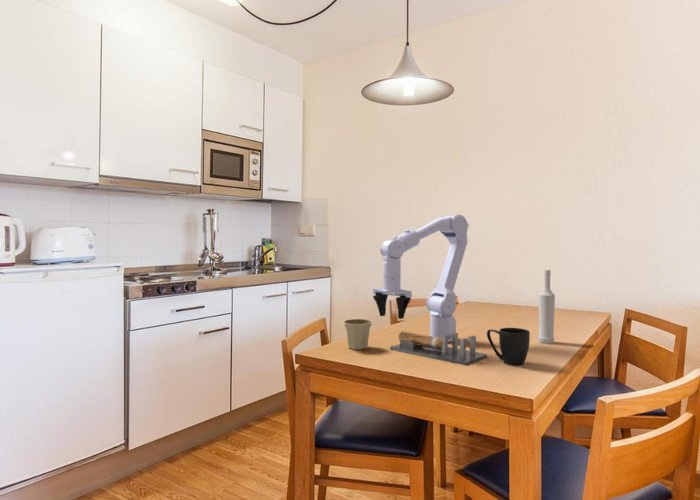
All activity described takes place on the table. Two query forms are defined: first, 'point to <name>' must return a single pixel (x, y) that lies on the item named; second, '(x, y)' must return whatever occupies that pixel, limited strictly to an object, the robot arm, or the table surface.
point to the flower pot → (357, 333)
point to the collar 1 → (445, 342)
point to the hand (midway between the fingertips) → (391, 317)
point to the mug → (512, 345)
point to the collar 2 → (463, 346)
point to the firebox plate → (437, 353)
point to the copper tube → (422, 340)
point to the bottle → (546, 312)
